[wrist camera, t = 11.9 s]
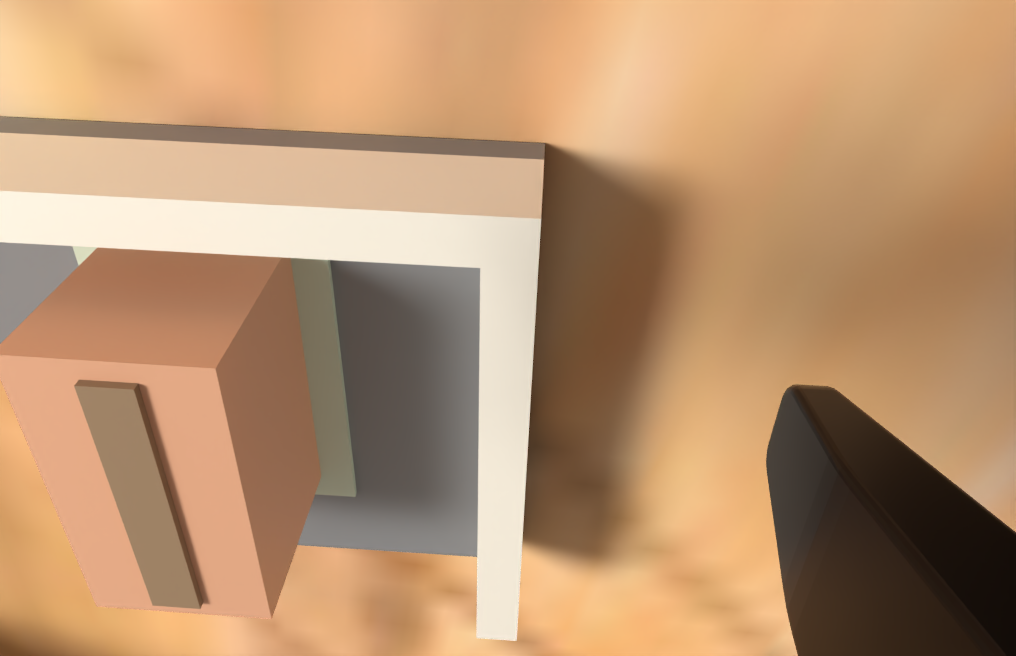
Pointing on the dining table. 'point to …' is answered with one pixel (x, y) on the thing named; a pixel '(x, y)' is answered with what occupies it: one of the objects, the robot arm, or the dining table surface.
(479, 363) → the tray
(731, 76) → the dining table surface
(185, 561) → the terracotta block
